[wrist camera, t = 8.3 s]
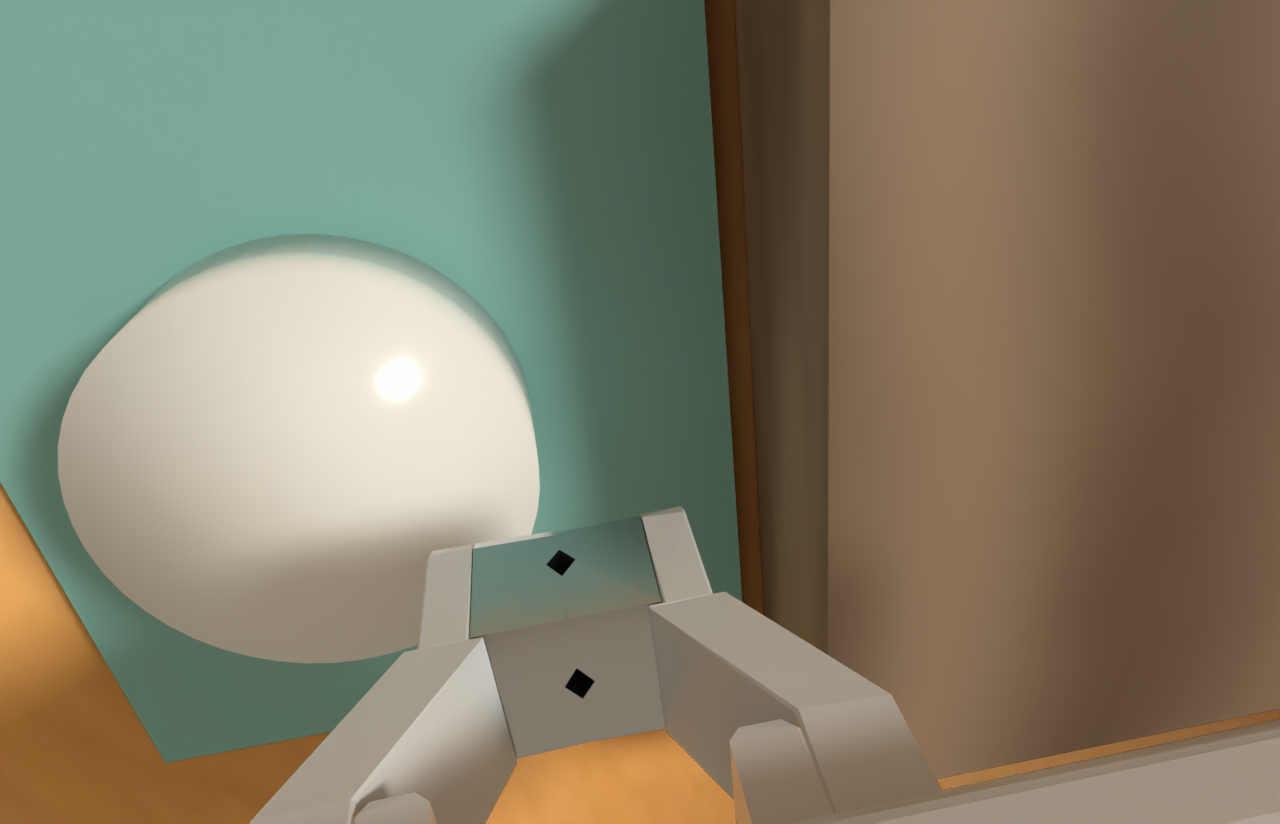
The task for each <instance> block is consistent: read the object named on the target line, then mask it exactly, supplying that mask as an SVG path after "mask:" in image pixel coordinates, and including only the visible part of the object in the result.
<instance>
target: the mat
mask: <svg viewBox="0 0 1280 824" xmlns="http://www.w3.org/2000/svg"><path fill="white" fill-rule="evenodd" d="M300 234H320V235H331V236H342V237H348V238H353V239H358V240H362V241H367V242H372V243H376V244H379V245H382V246H385V247H388V248H391V249H394V250H397V251H399V252H402V253H405V254H407V255H409V256H411V257H413V258H415V259H417V260H419V261H421V262H423V263H425V264H427V265H429V266H431V267H432V268H434V269H436V270H437V271H439V272H440V273H442V274H443V275H445V276H447V277H448V278H450V279H451V280H453V281H454V282H455V283H456V284H458V285H459V286H460V287H461V288H463V289H464V290H465V291H466V292H467V293H469V294H470V295H471V296H472V297H473V298H475V300H476V301H477V302H478V303H479V304H480V305H481V306H482V307H483V308H484V309H485V310H486V311H487V312H488V313H489V314H490V315H491V317H492V318H493V319H494V320H495V322H496V323H497V325H498V326H499V327H500V329H501V330H502V332H503V333H504V334H505V336H506V337H507V339H508V341H509V342H510V344H511V346H512V348H513V350H514V352H515V354H516V356H517V358H518V359H519V362H520V365H521V368H522V370H523V373H524V376H525V379H526V381H527V386H528V391H529V396H530V401H531V407H532V415H533V423H534V431H535V439H536V447H537V455H538V463H539V481H540V492H539V501H538V511H537V515H536V519H535V523H534V526H533V530H532V534H538V533H544V532H551V531H557V530H558V531H562V530H567V529H572V528H578V527H583V526H588V525H594V524H599V523H604V522H610V521H615V520H621V519H626V518H631V517H637V516H640V514H645V513H649V512H654V511H659V510H664V509H668V508H673V507H678V506H680V507H682V508H683V509H684V510H685V513H686V516H687V519H688V522H689V525H690V527H691V530H692V533H693V536H694V539H695V542H696V545H697V548H698V551H699V554H700V557H701V560H702V563H703V566H704V569H705V572H706V575H707V577H708V580H709V583H710V586H711V589H712V592H713V594H715V593H720V592H727V593H728V594H730V595H732V596H733V597H735V598H736V599H738V600H740V601H741V602H742V590H741V574H740V558H739V542H738V526H737V510H736V495H735V479H734V463H733V447H732V431H731V415H730V399H729V384H728V368H727V352H726V336H725V320H724V304H723V288H722V272H721V257H720V241H719V225H718V209H717V193H716V177H715V161H714V146H713V130H712V114H711V98H710V82H709V66H708V50H707V35H706V19H705V3H704V0H0V483H1V484H2V486H3V488H4V490H5V491H6V493H7V495H8V496H9V498H10V500H11V502H12V503H13V505H14V507H15V508H16V510H17V512H18V513H19V515H20V517H21V519H22V520H23V522H24V524H25V525H26V527H27V529H28V531H29V532H30V534H31V536H32V537H33V539H34V541H35V542H36V544H37V546H38V548H39V549H40V551H41V553H42V554H43V556H44V558H45V559H46V561H47V563H48V565H49V566H50V568H51V570H52V571H53V573H54V575H55V577H56V578H57V580H58V582H59V583H60V585H61V587H62V588H63V590H64V592H65V594H66V595H67V597H68V599H69V600H70V602H71V604H72V605H73V607H74V609H75V611H76V612H77V614H78V616H79V617H80V619H81V621H82V623H83V624H84V626H85V628H86V629H87V631H88V633H89V634H90V636H91V638H92V640H93V641H94V643H95V645H96V646H97V648H98V650H99V651H100V653H101V655H102V657H103V658H104V660H105V662H106V663H107V665H108V667H109V669H110V670H111V672H112V674H113V675H114V677H115V679H116V680H117V682H118V684H119V686H120V687H121V689H122V691H123V692H124V694H125V696H126V697H127V699H128V701H129V703H130V704H131V706H132V708H133V709H134V711H135V713H136V715H137V716H138V718H139V720H140V721H141V723H142V725H143V726H144V728H145V730H146V732H147V733H148V735H149V737H150V738H151V740H152V742H153V743H154V745H155V747H156V749H157V750H158V752H159V754H160V755H161V757H162V759H163V761H164V762H165V763H169V762H175V761H180V760H185V759H190V758H196V757H201V756H206V755H211V754H217V753H222V752H227V751H232V750H238V749H243V748H248V747H254V746H259V745H264V744H269V743H275V742H280V741H285V740H290V739H296V738H301V737H306V736H311V735H317V734H322V733H327V732H332V731H333V730H334V728H335V727H336V726H337V725H338V724H339V723H340V722H341V721H342V720H343V719H344V717H345V716H346V715H347V714H348V713H349V712H350V711H351V710H352V709H353V708H354V706H355V705H356V704H357V703H358V702H359V701H360V700H361V699H362V698H363V696H364V695H365V694H366V693H367V692H368V691H369V690H370V689H371V688H372V687H373V685H374V684H375V683H376V682H377V681H378V680H379V679H380V678H381V677H382V676H383V674H384V673H385V672H386V671H387V670H388V669H389V668H390V667H391V666H392V665H393V663H394V662H395V661H396V660H397V659H398V658H399V657H400V656H401V655H402V654H403V652H406V651H411V650H416V649H417V645H415V646H412V647H409V648H406V649H403V650H400V651H397V652H393V653H390V654H387V655H382V656H378V657H373V658H368V659H363V660H356V661H347V662H338V663H294V662H281V661H273V660H267V659H262V658H256V657H250V656H246V655H242V654H239V653H235V652H231V651H227V650H224V649H220V648H218V647H215V646H213V645H210V644H207V643H205V642H202V641H199V640H197V639H194V638H192V637H190V636H188V635H186V634H184V633H182V632H180V631H178V630H176V629H174V628H172V627H170V626H168V625H166V624H165V623H163V622H162V621H160V620H159V619H157V618H155V617H154V616H152V615H151V614H149V613H148V612H146V611H144V610H143V609H142V608H141V607H139V606H138V605H137V604H136V603H134V602H133V601H132V600H131V599H130V598H128V597H127V596H126V595H125V594H123V593H122V592H121V591H120V590H119V589H118V588H117V587H116V586H115V585H114V584H113V583H112V582H111V581H110V580H109V579H108V578H107V577H106V576H105V574H104V573H103V572H102V571H101V570H100V568H99V567H98V566H97V564H96V563H95V562H94V560H93V559H92V558H91V556H90V555H89V554H88V552H87V551H86V550H85V548H84V546H83V544H82V542H81V541H80V539H79V537H78V535H77V533H76V531H75V530H74V528H73V526H72V523H71V520H70V518H69V515H68V512H67V510H66V507H65V504H64V502H63V497H62V492H61V487H60V481H59V476H58V442H59V436H60V430H61V424H62V419H63V416H64V414H65V411H66V408H67V405H68V402H69V399H70V397H71V394H72V392H73V391H74V389H75V387H76V385H77V384H78V382H79V380H80V378H81V377H82V375H83V373H84V371H85V370H86V368H87V367H88V366H89V365H90V364H91V362H92V361H93V360H94V359H95V357H96V356H97V355H98V354H99V353H100V351H101V350H102V349H103V348H104V347H105V346H106V345H107V343H108V342H109V341H110V340H111V339H112V338H113V337H114V336H115V335H116V334H117V333H118V332H119V331H120V330H121V329H122V328H123V327H124V326H125V325H126V324H127V323H128V322H129V321H130V319H131V318H132V317H133V316H134V315H135V314H136V313H137V312H138V311H139V310H140V309H141V308H142V307H143V306H144V305H145V304H146V303H147V302H148V301H149V300H150V299H151V298H152V296H153V295H154V294H155V293H156V292H158V291H159V290H160V289H161V288H162V287H163V286H164V285H165V284H167V283H168V282H169V281H170V280H171V279H172V278H173V277H175V276H176V275H177V274H179V273H180V272H182V271H183V270H185V269H186V268H188V267H190V266H191V265H193V264H194V263H196V262H197V261H199V260H201V259H203V258H205V257H207V256H210V255H212V254H214V253H216V252H219V251H221V250H223V249H225V248H228V247H231V246H235V245H238V244H242V243H245V242H248V241H252V240H256V239H262V238H268V237H275V236H281V235H300ZM532 534H531V535H532Z"/></svg>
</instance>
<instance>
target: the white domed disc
mask: <svg viewBox="0 0 1280 824" xmlns="http://www.w3.org/2000/svg"><path fill="white" fill-rule="evenodd" d="M58 476H59V481H60V487H61V492H62V497H63V502H64V504H65V507H66V510H67V512H68V515H69V518H70V520H71V523H72V526H73V528H74V530H75V531H76V533H77V535H78V537H79V539H80V541H81V542H82V544H83V546H84V548H85V550H86V551H87V552H88V554H89V555H90V556H91V558H92V559H93V560H94V562H95V563H96V564H97V566H98V567H99V568H100V570H101V571H102V572H103V573H104V574H105V576H106V577H107V578H108V579H109V580H110V581H111V582H112V583H113V584H114V585H115V586H116V587H117V588H118V589H119V590H120V591H121V592H122V593H123V594H125V595H126V596H127V597H128V598H130V599H131V600H132V601H133V602H134V603H136V604H137V605H138V606H139V607H141V608H142V609H143V610H144V611H146V612H148V613H149V614H151V615H152V616H154V617H155V618H157V619H159V620H160V621H162V622H163V623H165V624H166V625H168V626H170V627H172V628H174V629H176V630H178V631H180V632H182V633H184V634H186V635H188V636H190V637H192V638H194V639H197V640H199V641H202V642H205V643H207V644H210V645H213V646H215V647H218V648H220V649H224V650H227V651H231V652H235V653H239V654H242V655H246V656H250V657H256V658H262V659H267V660H273V661H281V662H294V663H338V662H347V661H356V660H363V659H368V658H373V657H378V656H382V655H387V654H390V653H393V652H397V651H400V650H403V649H406V648H409V647H412V646H415V645H417V643H418V635H419V626H420V617H421V609H422V600H423V591H424V583H425V574H426V566H427V559H428V557H429V555H430V554H431V552H432V551H435V550H441V549H447V548H452V547H458V546H464V545H469V544H472V545H475V543H481V542H487V541H494V540H500V539H506V538H513V537H519V536H525V535H531V534H532V530H533V526H534V523H535V519H536V515H537V511H538V501H539V492H540V481H539V463H538V455H537V447H536V439H535V431H534V423H533V415H532V407H531V401H530V396H529V391H528V386H527V381H526V379H525V376H524V373H523V370H522V368H521V365H520V362H519V359H518V358H517V356H516V354H515V352H514V350H513V348H512V346H511V344H510V342H509V341H508V339H507V337H506V336H505V334H504V333H503V332H502V330H501V329H500V327H499V326H498V325H497V323H496V322H495V320H494V319H493V318H492V317H491V315H490V314H489V313H488V312H487V311H486V310H485V309H484V308H483V307H482V306H481V305H480V304H479V303H478V302H477V301H476V300H475V298H473V297H472V296H471V295H470V294H469V293H467V292H466V291H465V290H464V289H463V288H461V287H460V286H459V285H458V284H456V283H455V282H454V281H453V280H451V279H450V278H448V277H447V276H445V275H443V274H442V273H440V272H439V271H437V270H436V269H434V268H432V267H431V266H429V265H427V264H425V263H423V262H421V261H419V260H417V259H415V258H413V257H411V256H409V255H407V254H405V253H402V252H399V251H397V250H394V249H391V248H388V247H385V246H382V245H379V244H376V243H372V242H367V241H362V240H358V239H353V238H348V237H342V236H331V235H320V234H300V235H281V236H275V237H268V238H262V239H256V240H252V241H248V242H245V243H242V244H238V245H235V246H231V247H228V248H225V249H223V250H221V251H219V252H216V253H214V254H212V255H210V256H207V257H205V258H203V259H201V260H199V261H197V262H196V263H194V264H193V265H191V266H190V267H188V268H186V269H185V270H183V271H182V272H180V273H179V274H177V275H176V276H175V277H173V278H172V279H171V280H170V281H169V282H168V283H167V284H165V285H164V286H163V287H162V288H161V289H160V290H159V291H158V292H156V293H155V294H154V295H153V296H152V298H151V299H150V300H149V301H148V302H147V303H146V304H145V305H144V306H143V307H142V308H141V309H140V310H139V311H138V312H137V313H136V314H135V315H134V316H133V317H132V318H131V319H130V321H129V322H128V323H127V324H126V325H125V326H124V327H123V328H122V329H121V330H120V331H119V332H118V333H117V334H116V335H115V336H114V337H113V338H112V339H111V340H110V341H109V342H108V343H107V345H106V346H105V347H104V348H103V349H102V350H101V351H100V353H99V354H98V355H97V356H96V357H95V359H94V360H93V361H92V362H91V364H90V365H89V366H88V367H87V368H86V370H85V371H84V373H83V375H82V377H81V378H80V380H79V382H78V384H77V385H76V387H75V389H74V391H73V392H72V394H71V397H70V399H69V402H68V405H67V408H66V411H65V414H64V416H63V419H62V424H61V430H60V436H59V442H58Z"/></svg>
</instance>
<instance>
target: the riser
mask: <svg viewBox="0 0 1280 824" xmlns="http://www.w3.org/2000/svg"><path fill="white" fill-rule="evenodd" d="M735 20H736V41H737V62H738V84H739V105H740V126H741V147H742V169H743V190H744V211H745V233H746V254H747V275H748V296H749V318H750V339H751V360H752V382H753V403H754V424H755V445H756V467H757V488H758V509H759V530H760V552H761V573H762V594H763V615H764V616H766V617H767V618H769V619H770V620H772V621H774V622H775V623H777V624H778V625H780V626H782V627H783V628H785V629H787V630H788V631H790V632H791V633H793V634H795V635H796V636H798V637H799V638H801V639H803V640H804V641H806V642H808V643H809V644H811V645H812V646H814V647H816V648H817V649H819V650H820V651H822V652H824V653H825V654H827V655H829V656H830V657H832V658H833V659H835V660H837V661H838V662H840V663H841V664H843V665H845V666H846V667H848V668H850V669H851V670H853V671H854V672H856V673H858V674H859V675H861V676H862V677H864V678H866V679H867V680H869V681H871V682H872V683H874V684H875V685H877V686H879V687H880V688H882V689H883V690H885V691H887V692H888V693H890V694H891V695H892V697H893V698H894V700H895V702H896V704H897V706H898V708H899V710H900V712H901V714H902V715H903V717H904V719H905V721H906V723H907V725H908V727H909V729H910V731H911V732H912V734H913V736H914V738H915V740H916V742H917V744H918V746H919V748H920V749H921V751H922V753H923V755H924V757H925V759H926V761H927V763H928V764H929V766H930V768H931V770H932V772H933V774H934V776H935V778H936V779H940V778H945V777H950V776H955V775H959V774H964V773H969V772H974V771H979V770H984V769H989V768H994V767H998V766H1003V765H1008V764H1013V763H1018V762H1023V761H1028V760H1033V759H1037V758H1042V757H1047V756H1052V755H1057V754H1062V753H1067V752H1072V751H1076V750H1081V749H1086V748H1091V747H1096V746H1101V745H1106V744H1111V743H1116V742H1120V741H1125V740H1130V739H1135V738H1140V737H1145V736H1150V735H1155V734H1159V733H1164V732H1169V731H1174V730H1179V729H1184V728H1189V727H1194V726H1198V725H1203V724H1208V723H1213V722H1218V721H1223V720H1228V719H1233V718H1237V717H1242V716H1247V715H1252V714H1257V713H1262V712H1267V711H1272V710H1277V709H1280V0H735Z"/></svg>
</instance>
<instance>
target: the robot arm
mask: <svg viewBox="0 0 1280 824" xmlns="http://www.w3.org/2000/svg"><path fill="white" fill-rule="evenodd" d="M661 729H666V732H667V733H668V734H669V735H670V736H671V737H672V738H673V739H674V740H675V741H676V742H677V743H678V744H679V745H680V746H681V747H682V748H683V749H684V750H685V751H686V752H687V753H688V754H689V755H690V756H691V757H692V758H693V759H694V760H695V761H696V762H697V763H698V764H699V765H700V766H701V767H702V768H703V769H704V770H705V771H706V772H707V773H708V774H709V775H710V776H711V777H712V778H713V779H714V780H715V781H716V782H717V783H718V784H719V785H720V786H721V787H722V788H723V789H724V790H725V791H726V792H727V793H728V794H729V795H730V797H731V798H732V799H733V800H734V806H735V819H736V824H1280V719H1279V720H1274V721H1270V722H1265V723H1260V724H1255V725H1251V726H1246V727H1241V728H1236V729H1232V730H1227V731H1222V732H1217V733H1213V734H1208V735H1203V736H1198V737H1194V738H1189V739H1184V740H1179V741H1175V742H1170V743H1165V744H1160V745H1156V746H1151V747H1146V748H1141V749H1137V750H1132V751H1127V752H1122V753H1118V754H1113V755H1108V756H1103V757H1099V758H1094V759H1089V760H1084V761H1080V762H1075V763H1070V764H1066V765H1061V766H1056V767H1051V768H1047V769H1042V770H1037V771H1032V772H1028V773H1023V774H1018V775H1013V776H1009V777H1004V778H999V779H995V780H990V781H985V782H980V783H976V784H971V785H966V786H961V787H957V788H952V789H947V790H942V789H941V787H940V785H939V783H938V781H937V780H936V778H935V776H934V774H933V772H932V770H931V768H930V766H929V764H928V763H927V761H926V759H925V757H924V755H923V753H922V751H921V749H920V748H919V746H918V744H917V742H916V740H915V738H914V736H913V734H912V732H911V731H910V729H909V727H908V725H907V723H906V721H905V719H904V717H903V715H902V714H901V712H900V710H899V708H898V706H897V704H896V702H895V700H894V698H893V697H892V695H891V694H890V693H888V692H887V691H885V690H883V689H882V688H880V687H879V686H877V685H875V684H874V683H872V682H871V681H869V680H867V679H866V678H864V677H862V676H861V675H859V674H858V673H856V672H854V671H853V670H851V669H850V668H848V667H846V666H845V665H843V664H841V663H840V662H838V661H837V660H835V659H833V658H832V657H830V656H829V655H827V654H825V653H824V652H822V651H820V650H819V649H817V648H816V647H814V646H812V645H811V644H809V643H808V642H806V641H804V640H803V639H801V638H799V637H798V636H796V635H795V634H793V633H791V632H790V631H788V630H787V629H785V628H783V627H782V626H780V625H778V624H777V623H775V622H774V621H772V620H770V619H769V618H767V617H766V616H764V615H762V614H761V613H759V612H757V611H756V610H754V609H753V608H751V607H749V606H748V605H746V604H745V603H743V602H741V601H740V600H738V599H736V598H735V597H733V596H732V595H730V594H728V593H727V592H720V593H715V594H713V592H712V589H711V586H710V583H709V580H708V577H707V575H706V572H705V569H704V566H703V563H702V560H701V557H700V554H699V551H698V548H697V545H696V542H695V539H694V536H693V533H692V530H691V527H690V525H689V522H688V519H687V516H686V513H685V510H684V509H683V508H682V507H680V506H678V507H673V508H668V509H664V510H659V511H654V512H649V513H645V514H640V516H637V517H631V518H626V519H621V520H615V521H610V522H604V523H599V524H594V525H588V526H583V527H578V528H572V529H567V530H562V531H558V530H557V531H551V532H544V533H538V534H532V535H525V536H519V537H513V538H506V539H500V540H494V541H487V542H481V543H475V545H472V544H469V545H464V546H458V547H452V548H447V549H441V550H435V551H432V552H431V554H430V555H429V557H428V559H427V566H426V574H425V583H424V591H423V600H422V609H421V617H420V626H419V635H418V643H417V649H416V650H411V651H406V652H403V654H402V655H401V656H400V657H399V658H398V659H397V660H396V661H395V662H394V663H393V665H392V666H391V667H390V668H389V669H388V670H387V671H386V672H385V673H384V674H383V676H382V677H381V678H380V679H379V680H378V681H377V682H376V683H375V684H374V685H373V687H372V688H371V689H370V690H369V691H368V692H367V693H366V694H365V695H364V696H363V698H362V699H361V700H360V701H359V702H358V703H357V704H356V705H355V706H354V708H353V709H352V710H351V711H350V712H349V713H348V714H347V715H346V716H345V717H344V719H343V720H342V721H341V722H340V723H339V724H338V725H337V726H336V727H335V728H334V730H333V731H332V732H331V733H330V734H329V735H328V736H327V737H326V738H325V739H324V741H323V742H322V743H321V744H320V745H319V746H318V747H317V748H316V749H315V750H314V752H313V753H312V754H311V755H310V756H309V757H308V758H307V759H306V760H305V761H304V763H303V764H302V765H301V766H300V767H299V768H298V769H297V770H296V771H295V773H294V774H293V775H292V776H291V777H290V778H289V779H288V780H287V781H286V782H285V784H284V785H283V786H282V787H281V788H280V789H279V790H278V791H277V792H276V793H275V795H274V796H273V797H272V798H271V799H270V800H269V801H268V802H267V803H266V804H265V806H264V807H263V808H262V809H261V810H260V811H259V812H258V813H257V814H256V815H255V817H254V818H253V819H252V820H251V821H250V824H485V823H486V821H487V819H488V817H489V815H490V813H491V811H492V809H493V808H494V806H495V804H496V802H497V800H498V798H499V796H500V795H501V793H502V791H503V789H504V787H505V785H506V783H507V781H508V780H509V778H510V776H511V774H512V772H513V770H514V768H515V766H516V765H517V760H516V759H517V758H521V757H525V756H530V755H534V754H538V753H543V752H547V751H552V750H556V749H560V748H565V747H569V746H574V745H578V744H582V743H587V742H591V740H592V741H597V740H603V739H609V738H615V737H620V736H626V735H632V734H638V733H644V732H650V731H655V730H661Z"/></svg>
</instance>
